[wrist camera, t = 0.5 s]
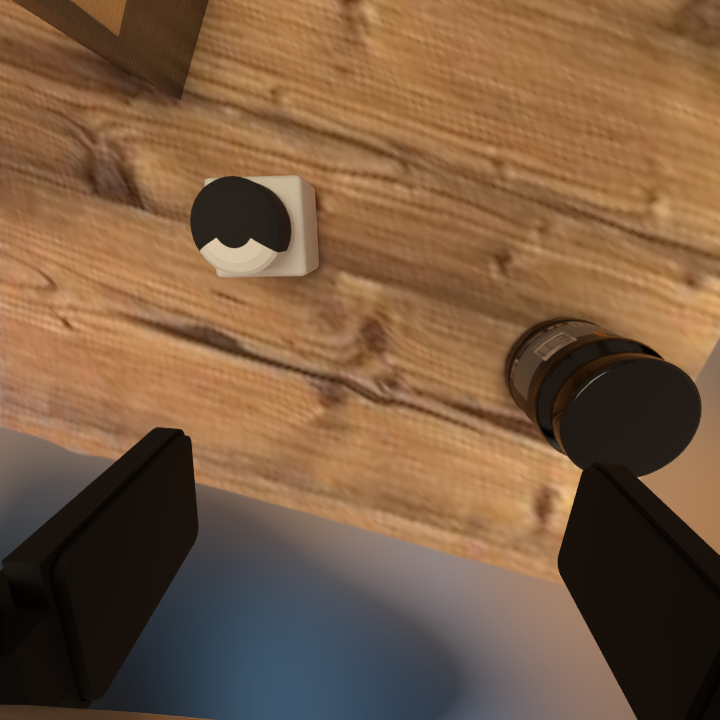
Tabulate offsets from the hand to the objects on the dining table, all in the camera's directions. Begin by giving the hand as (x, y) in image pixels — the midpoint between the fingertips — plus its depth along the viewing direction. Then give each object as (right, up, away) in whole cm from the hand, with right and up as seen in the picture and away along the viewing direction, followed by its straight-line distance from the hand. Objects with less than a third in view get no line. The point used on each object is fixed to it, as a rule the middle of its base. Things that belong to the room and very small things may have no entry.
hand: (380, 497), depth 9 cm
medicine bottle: (-8, +15, +26) cm, 32 cm away
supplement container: (+19, +3, +29) cm, 35 cm away
